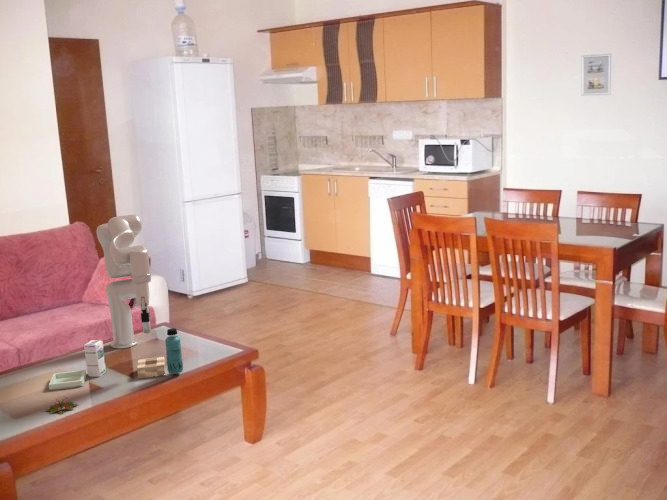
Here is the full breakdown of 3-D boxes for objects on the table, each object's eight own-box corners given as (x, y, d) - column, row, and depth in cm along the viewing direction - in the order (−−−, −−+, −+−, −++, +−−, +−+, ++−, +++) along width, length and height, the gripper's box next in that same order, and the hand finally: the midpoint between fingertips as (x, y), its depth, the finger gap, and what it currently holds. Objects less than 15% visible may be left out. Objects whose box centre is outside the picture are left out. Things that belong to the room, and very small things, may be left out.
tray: (54, 379, 295) (53, 373, 295) (86, 375, 298) (85, 369, 297) (49, 390, 283) (48, 384, 282) (82, 386, 286) (82, 380, 285)
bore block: (139, 369, 302) (138, 359, 301) (165, 366, 304) (164, 356, 303) (138, 378, 291) (137, 368, 290) (165, 375, 293) (164, 365, 293)
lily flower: (37, 413, 262) (36, 402, 261) (61, 401, 273) (60, 390, 272) (61, 418, 257) (60, 406, 256) (85, 405, 268) (83, 394, 267)
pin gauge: (143, 331, 295) (139, 299, 292) (151, 330, 296) (147, 298, 293) (143, 333, 292) (139, 301, 289) (150, 332, 293) (147, 300, 290)
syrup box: (100, 377, 295) (96, 344, 292) (87, 376, 296) (83, 344, 293) (107, 371, 301) (103, 340, 298) (94, 371, 302) (90, 339, 299)
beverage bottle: (164, 375, 294) (160, 329, 290) (178, 370, 299) (173, 325, 295) (173, 378, 289) (169, 332, 285) (187, 373, 294) (182, 328, 290)
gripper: (133, 275, 296) (137, 316, 300) (130, 283, 281) (135, 327, 284) (151, 273, 298) (155, 314, 302) (150, 282, 282) (154, 325, 286)
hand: (145, 320), depth 293 cm, fingers closed on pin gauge, 3 cm apart
